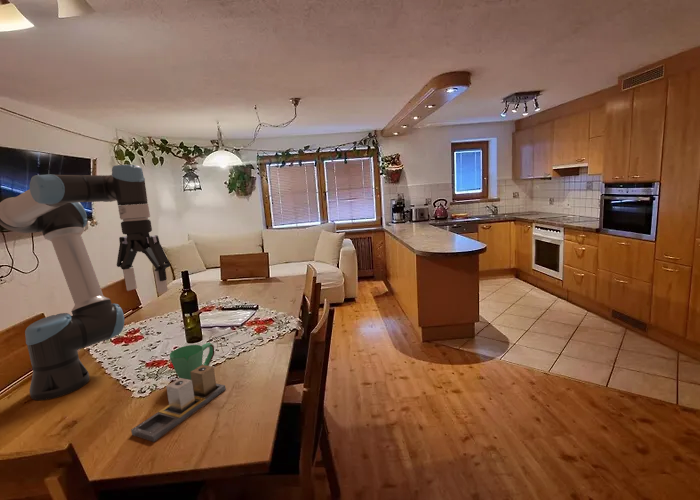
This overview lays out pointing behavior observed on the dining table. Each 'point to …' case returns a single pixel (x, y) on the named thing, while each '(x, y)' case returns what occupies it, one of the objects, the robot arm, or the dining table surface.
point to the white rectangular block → (180, 395)
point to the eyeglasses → (230, 342)
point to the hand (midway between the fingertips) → (146, 290)
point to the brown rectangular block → (203, 380)
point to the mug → (190, 359)
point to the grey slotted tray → (171, 418)
